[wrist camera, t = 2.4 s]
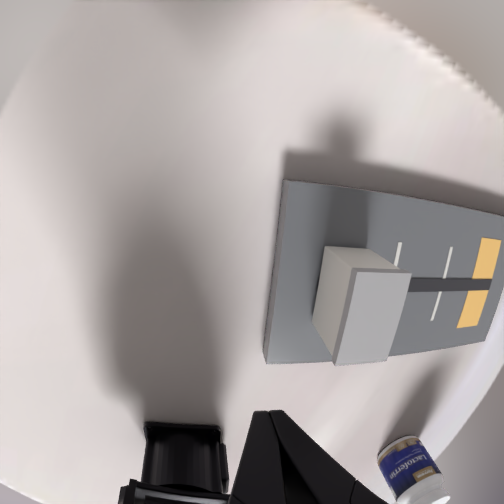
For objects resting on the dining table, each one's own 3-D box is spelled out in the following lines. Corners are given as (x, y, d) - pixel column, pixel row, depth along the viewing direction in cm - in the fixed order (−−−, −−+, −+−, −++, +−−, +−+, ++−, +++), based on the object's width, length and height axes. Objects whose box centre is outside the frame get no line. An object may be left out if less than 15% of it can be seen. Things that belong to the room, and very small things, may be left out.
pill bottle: (411, 426, 28) (452, 488, 19) (421, 443, 30) (457, 497, 20) (368, 455, 29) (402, 520, 19) (383, 468, 30) (413, 525, 21)
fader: (309, 323, 20) (334, 366, 15) (323, 244, 18) (357, 271, 14) (354, 322, 20) (386, 361, 16) (370, 247, 19) (411, 273, 14)
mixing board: (262, 351, 22) (266, 364, 21) (283, 179, 19) (289, 181, 17) (475, 334, 25) (485, 341, 24) (508, 217, 22) (519, 220, 21)
